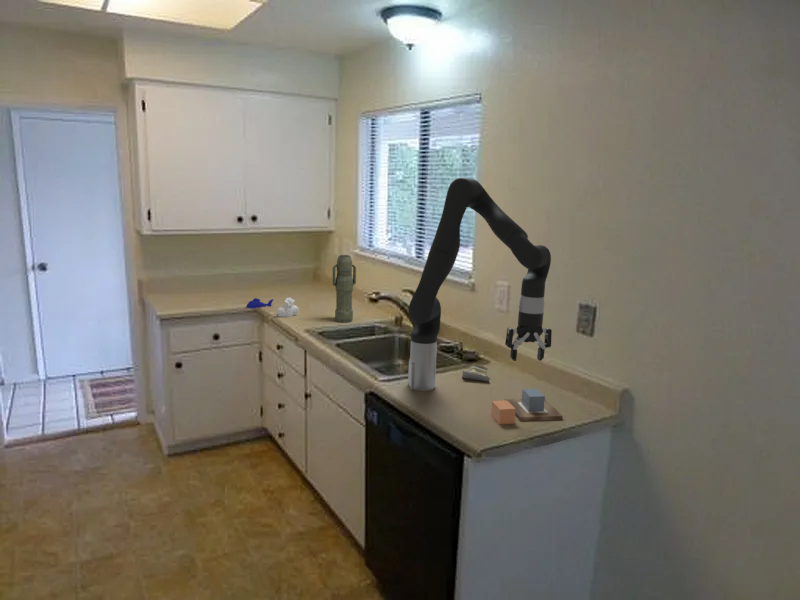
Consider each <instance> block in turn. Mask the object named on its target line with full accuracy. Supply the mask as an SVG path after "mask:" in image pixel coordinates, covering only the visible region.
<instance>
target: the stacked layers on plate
mask: <svg viewBox="0 0 800 600" xmlns="http://www.w3.org/2000/svg"><path fill="white" fill-rule="evenodd" d="M488 369H489V368H488V367H486V366H483V365H481V364H477V363H472V364H471V365H470V366H469V367H468V371H464V370H462V375H461V379H462V378H464V379H468V380H469V379H470V380H476V381H482V382H483V381H484V382H488V383H489V381H490V377H487V373H488Z"/></svg>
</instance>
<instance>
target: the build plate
mask: <svg viewBox="0 0 800 600" xmlns="http://www.w3.org/2000/svg"><path fill="white" fill-rule="evenodd" d="M504 400H507V401H508V402H509V403H510V404H511V405H512V406H513V407H514V408H515V409H516V411H515V418H517V420H518V421H519V422H522V421H524V422H525V421H526V422H527V421H528V422H529V421H555V420H556V421H557V420H559V421H561V420H563V417H564V416H563V415H562V413H560V412H559V411H558V409H556V408H555V407H554V406H553V405H552V404H551V403H550V402H549V401H548V400H547V399H545V401H544V411H530V412H529V411H528V410H527V409H526V408H525V407H524V406H523V405H522V403H521V402H522V398H517V399H516V398H515V399H514V398H513V399H512V398H511V399H510V398H508V399H504Z"/></svg>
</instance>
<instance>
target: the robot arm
mask: <svg viewBox="0 0 800 600" xmlns="http://www.w3.org/2000/svg"><path fill="white" fill-rule="evenodd" d="M467 208H470V209H471V210H473V211H475V212H476V213H478V214H479V215H480V216H481V217H482V218H483V220H485V222H486V223H487V225H488V226H489V228H490V230H491V231H492V232H493V234H494V235H495V236H496V237H497V238H498V239H499V240H500V241H501V242H502V243H503V244H504V245H505V246H506V247H507V248H508V249H509V250H510V251H511V252H512V254H513V255H514V257H515V259H516V260H517V261H518V262H519V263H520V264H521V265H522V267H525V269H527V273H526V275H525V277H524V278H522V281H521V288H520V299H519V303H518V313H517V314H518V315H517V316H518V317H517V327H516V328H514V327H513V328H511V327H510V326H509V327H507V329H506V337H505V346H506V347H508V348H509V349H510V354H509V355H510V356H509V357H510V359H511V360H512V361H514V362H516V361H517V356H518V355H517V354H518V348H519V346H521V345H522V344H523V343H535V342H536V345H537V346H538V348H537V356H536V357H537V358H536V359H537V360H538V361H540V362H541V361H543V359H544V357H545V351H546V349H547V348H551V347H552V334H553V332H552V329H551V328H549V327H547V326H546V327H544V328H543V324H544V323H543V322H544V310H545V292H546V291H545V290H546V281H547V278H548V274H549V270H550V269H551V268H550V267H551V263H552V255H551V251H550V250H549V248H548V247H546V246H545V245H541V244H538V245H534V244H533V243H532V242H531V241H530V240H529V239H528V238H529V236H528V233H527V232H526V231H525V230H524V229H523V228H522V227H521V226H520V225H518V223H516V222H515V221H514V220H513V219H512V218H511V217H510V216H509V215H508V214H507V213H506V212H505V211H504V210H503V209H501V208H500V206H499V205H498V204H497V203H496V202H495V201H494V200H493V198H492V197H491V196H490V195H489V193H488V192H487V191H486V189H485V188H484V186H482V184H481V183H480V182H479V181H478V180H476V179H474V178H469V177H456V178H455V179H454V180H452V182H450V184H449V187H448V188H447V192H446V195H445V201H444V206H443V208H442V214H441V216H440V220H439V223H438V226H437V229H436V231H435V232H436V233H435V236H434V238H433V240H432V243H431V246H430V249H429V251H428V254H427V258H426V261H425V264H424V267H423V270H422V273H421V277H420V279H419V283H418V284H417V287H416V289H415V292H414V293H413V295H412V298H411V300H410V302H409V305H408V316H409V318H410V320H411V321H412V322H413V323H415V324H414V327H413V329H412V331H411V333H410V349H409V350H410V351H409V353H410V355H409V359H408V374H407V375H408V376H407V377H408V378H407V380H408V381H407V385H408V386H409V389H410V391H418V392H429V391H432V390H434V389H435V388H436V374H437V372H436V371H437V352H438V351H437V350H438V348H437V346H438V344H437V343H438V335H439V333H440V331H441V330H440V328H441V316H442V315H441V314H442V308H441V307H442V306H441V303H440V301H439V299H438V298H437V297H438V296H437V295H438V293H439V290H440V288H441V286H442V285H443V283H445V280H446V279H447V277H448V276H449V274H450V273H451V271H452V269H453V267H454V265H455V263H456V260H457V258H458V255H459V252H460V247H461V226H462V225H461V224H462V220H463V218H464V215H465V212H466V210H467ZM542 334H543V335H544V341H543V340H542V339H541V335H542ZM515 335H517V336H516V337H515V338H514V336H515ZM513 338H514V339H513Z"/></svg>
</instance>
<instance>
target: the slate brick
mask: <svg viewBox="0 0 800 600" xmlns="http://www.w3.org/2000/svg"><path fill="white" fill-rule="evenodd" d="M521 399H522V402H521V403H522V405H523V406H524V407H525V408H526V409H527V410H528V411H529V412H530V411H544V401H545V400H546V397H545V394H543V393H542V392H541V391H540V390H539V389H538V388H522V391H521Z"/></svg>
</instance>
